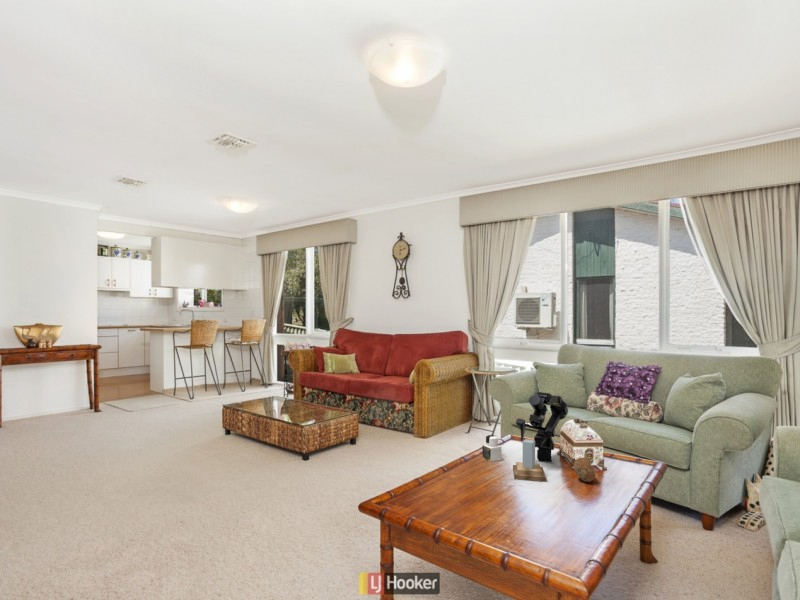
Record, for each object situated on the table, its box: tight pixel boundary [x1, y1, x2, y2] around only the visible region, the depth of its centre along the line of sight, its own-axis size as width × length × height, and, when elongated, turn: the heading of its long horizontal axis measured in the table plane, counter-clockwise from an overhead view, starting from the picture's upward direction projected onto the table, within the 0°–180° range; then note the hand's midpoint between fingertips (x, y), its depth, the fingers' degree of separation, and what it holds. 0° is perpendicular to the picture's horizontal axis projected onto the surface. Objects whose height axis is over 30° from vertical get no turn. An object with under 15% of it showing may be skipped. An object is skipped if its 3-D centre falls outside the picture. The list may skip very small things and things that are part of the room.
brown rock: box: [573, 456, 596, 483], centre depth 211 cm, size 10×13×10 cm
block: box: [522, 438, 536, 469], centre depth 216 cm, size 4×4×12 cm
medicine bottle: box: [482, 434, 502, 463], centre depth 239 cm, size 7×7×12 cm
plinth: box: [512, 461, 547, 483], centre depth 216 cm, size 14×14×4 cm
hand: (530, 443), depth 225 cm, fingers open, 9 cm apart
